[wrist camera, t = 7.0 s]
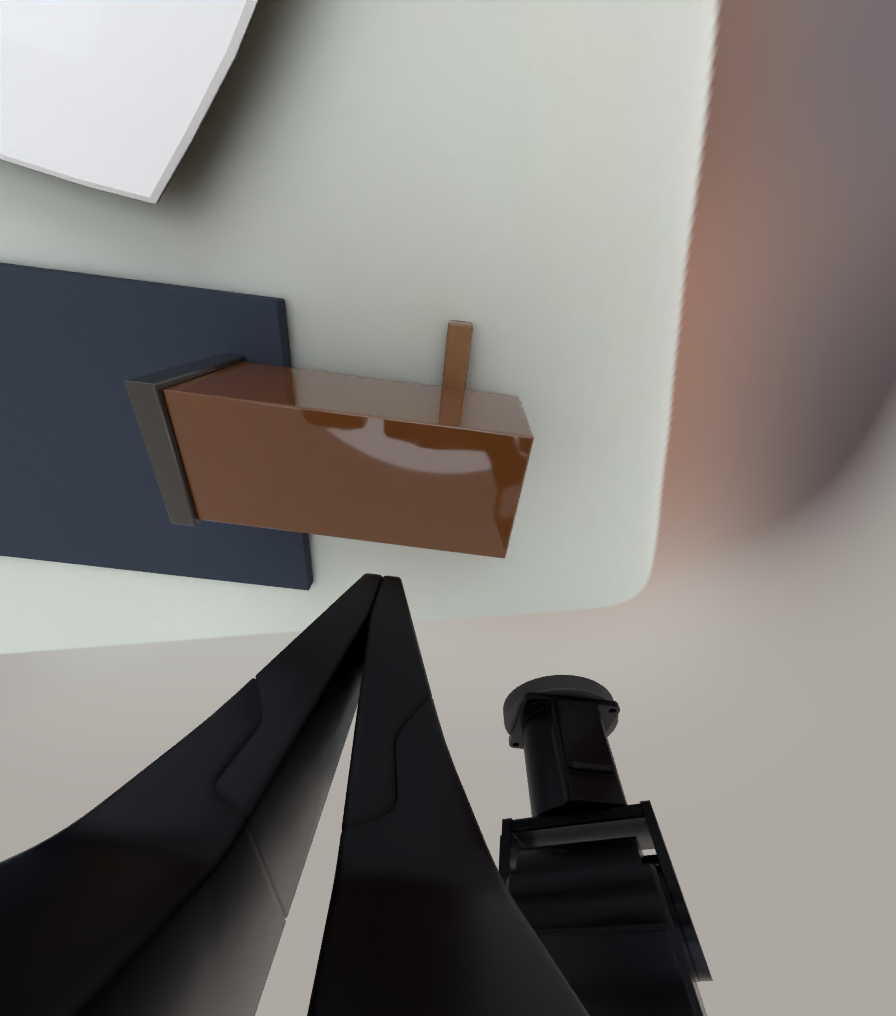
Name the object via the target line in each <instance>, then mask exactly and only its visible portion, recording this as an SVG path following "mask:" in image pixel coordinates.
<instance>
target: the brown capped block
mask: <svg viewBox="0 0 896 1016" xmlns="http://www.w3.org/2000/svg"><path fill="white" fill-rule="evenodd" d="M124 383H125V386H126V389H127V392H128V395H129V398H130V401H131V404H132V407H133V410H134V413H135V416H136V419H137V422H138V425H139V428H140V431H141V434H142V437H143V440H144V443H145V446H146V449H147V452H148V455H149V459H150V462H151V465H152V468H153V471H154V474H155V477H156V480H157V483H158V486H159V489H160V492H161V495H162V498H163V501H164V504H165V507H166V510H167V513H168V516H169V519H170V522H171V523H172V524H180V525H188V526H197V525H198V524H199V523H200V522H201V521H203V520H207V521H215V522H223V523H231V524H239V525H247V526H254V527H262V528H270V529H278V530H286V531H294V532H301V533H309V534H317V535H325V536H333V537H341V538H348V539H356V540H364V541H372V542H380V543H388V544H396V545H403V546H411V547H419V548H427V549H435V550H443V551H450V552H458V553H466V554H474V555H482V556H490V557H498V558H505V557H506V552H507V548H508V544H509V540H510V536H511V532H512V527H513V523H514V519H515V515H516V511H517V507H518V502H519V498H520V494H521V490H522V486H523V481H524V477H525V473H526V469H527V465H528V461H529V456H530V452H531V448H532V444H533V440H534V437H533V434H532V431H531V429H530V426H529V423H528V420H527V418H526V415H525V412H524V409H523V407H522V404H521V401H520V398H519V397H518V396H510V395H502V394H495V393H487V392H479V391H471V390H463V389H455V388H447V387H440V386H432V385H424V384H416V383H408V382H400V381H392V380H385V379H377V378H369V377H361V376H353V375H345V374H338V373H330V372H322V371H314V370H306V369H298V368H290V367H283V366H275V365H267V364H259V363H251V362H246V359H245V356H243V355H235V354H227V353H222V354H218V355H214V356H211V357H207V358H204V359H200V360H197V361H193V362H190V363H186V364H183V365H179V366H176V367H172V368H168V369H165V370H161V371H158V372H154V373H151V374H147V375H144V376H140V377H137V378H133V379H129V380H126V381H125V382H124Z"/></svg>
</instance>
